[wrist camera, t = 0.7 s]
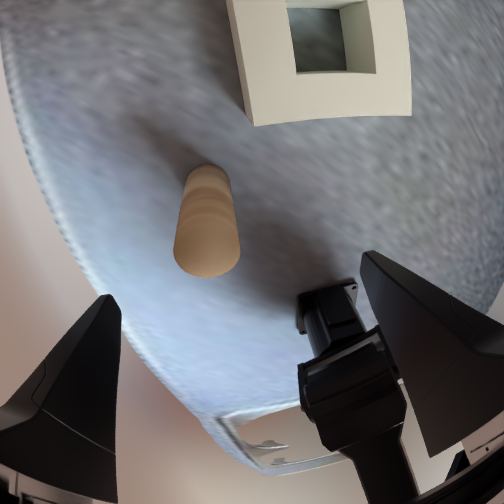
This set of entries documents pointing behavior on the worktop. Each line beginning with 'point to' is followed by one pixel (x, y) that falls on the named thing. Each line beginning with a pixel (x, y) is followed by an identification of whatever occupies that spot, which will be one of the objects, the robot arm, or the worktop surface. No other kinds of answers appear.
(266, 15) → the socket
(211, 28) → the worktop surface
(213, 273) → the peg
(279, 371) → the worktop surface
